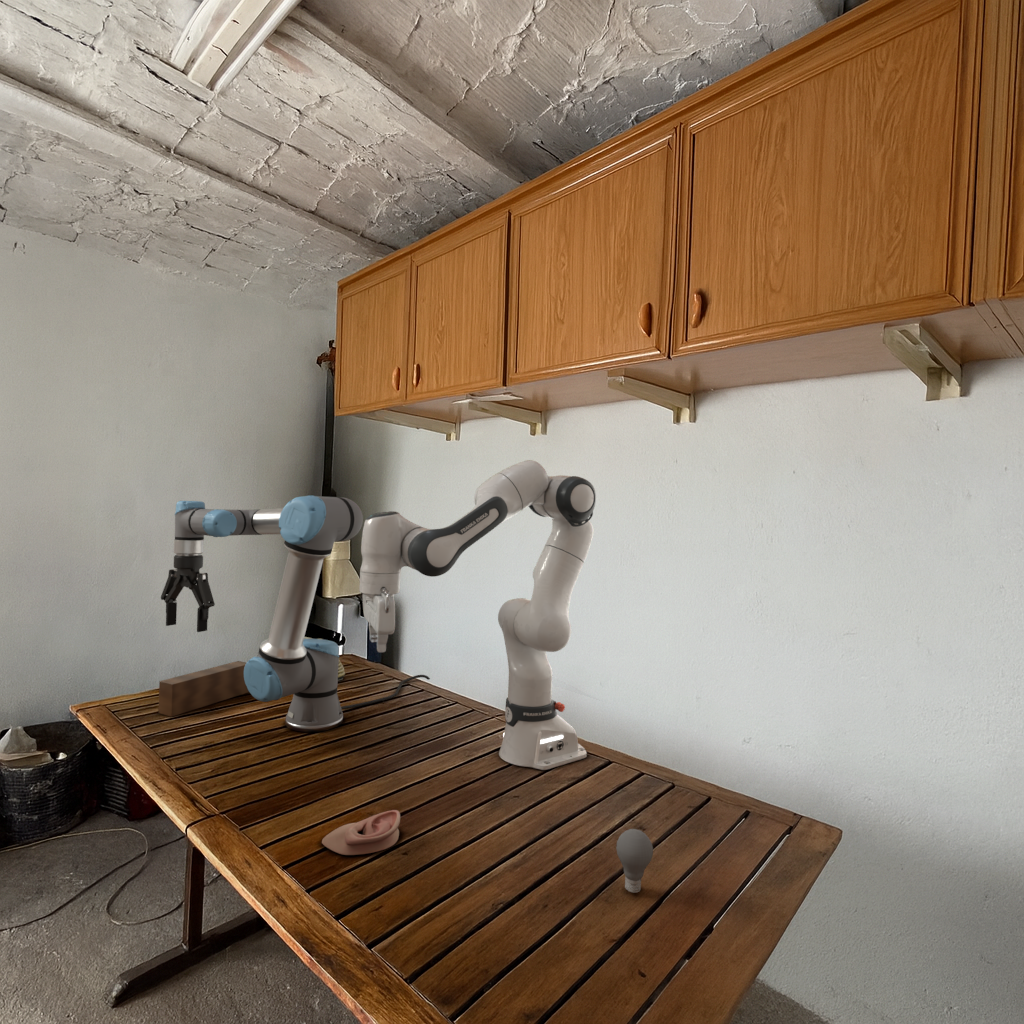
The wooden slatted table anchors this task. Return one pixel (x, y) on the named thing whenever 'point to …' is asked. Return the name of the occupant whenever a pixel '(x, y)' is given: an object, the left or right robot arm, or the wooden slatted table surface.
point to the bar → (201, 688)
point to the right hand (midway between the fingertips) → (377, 646)
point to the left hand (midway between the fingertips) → (186, 628)
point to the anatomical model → (365, 835)
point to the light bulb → (634, 857)
